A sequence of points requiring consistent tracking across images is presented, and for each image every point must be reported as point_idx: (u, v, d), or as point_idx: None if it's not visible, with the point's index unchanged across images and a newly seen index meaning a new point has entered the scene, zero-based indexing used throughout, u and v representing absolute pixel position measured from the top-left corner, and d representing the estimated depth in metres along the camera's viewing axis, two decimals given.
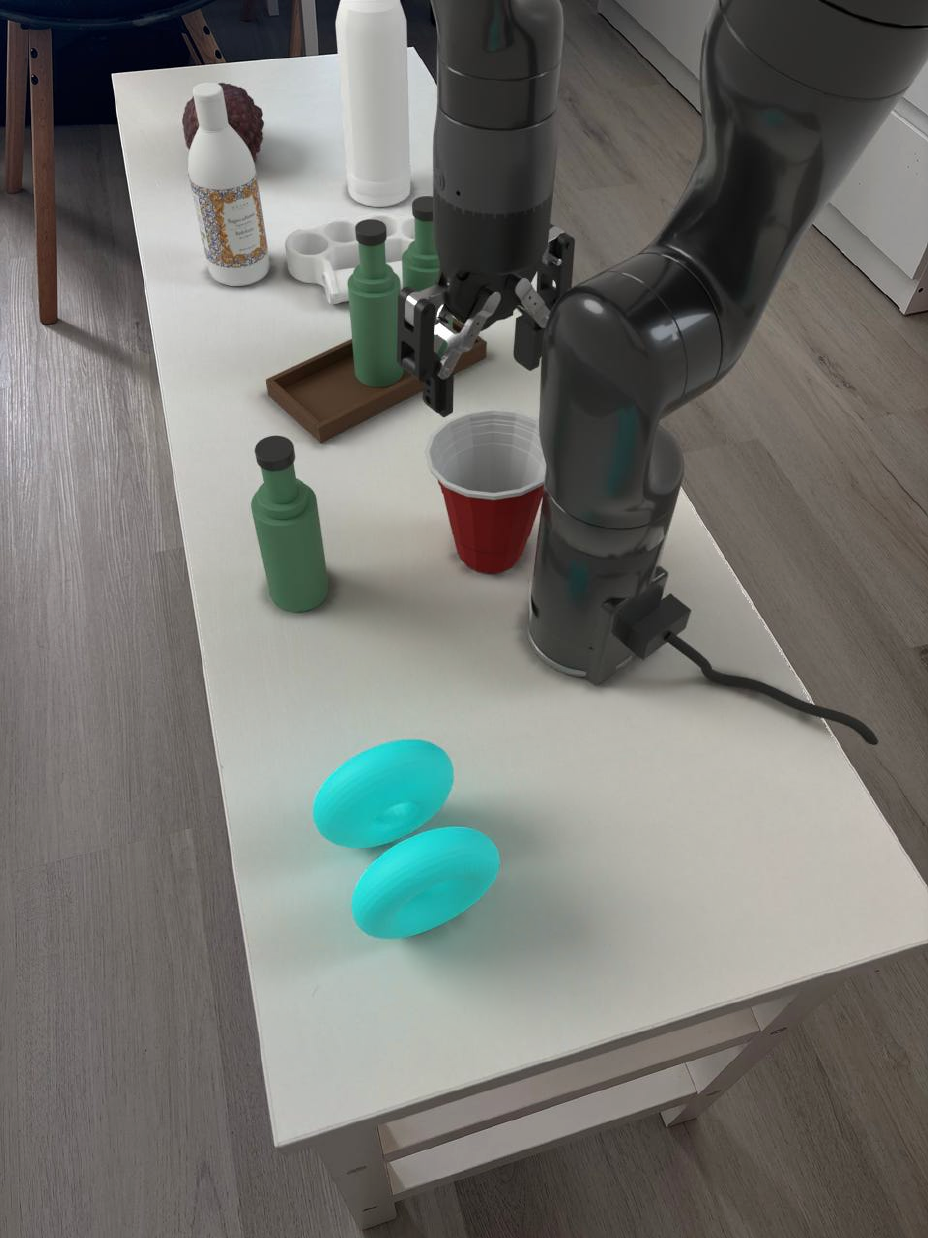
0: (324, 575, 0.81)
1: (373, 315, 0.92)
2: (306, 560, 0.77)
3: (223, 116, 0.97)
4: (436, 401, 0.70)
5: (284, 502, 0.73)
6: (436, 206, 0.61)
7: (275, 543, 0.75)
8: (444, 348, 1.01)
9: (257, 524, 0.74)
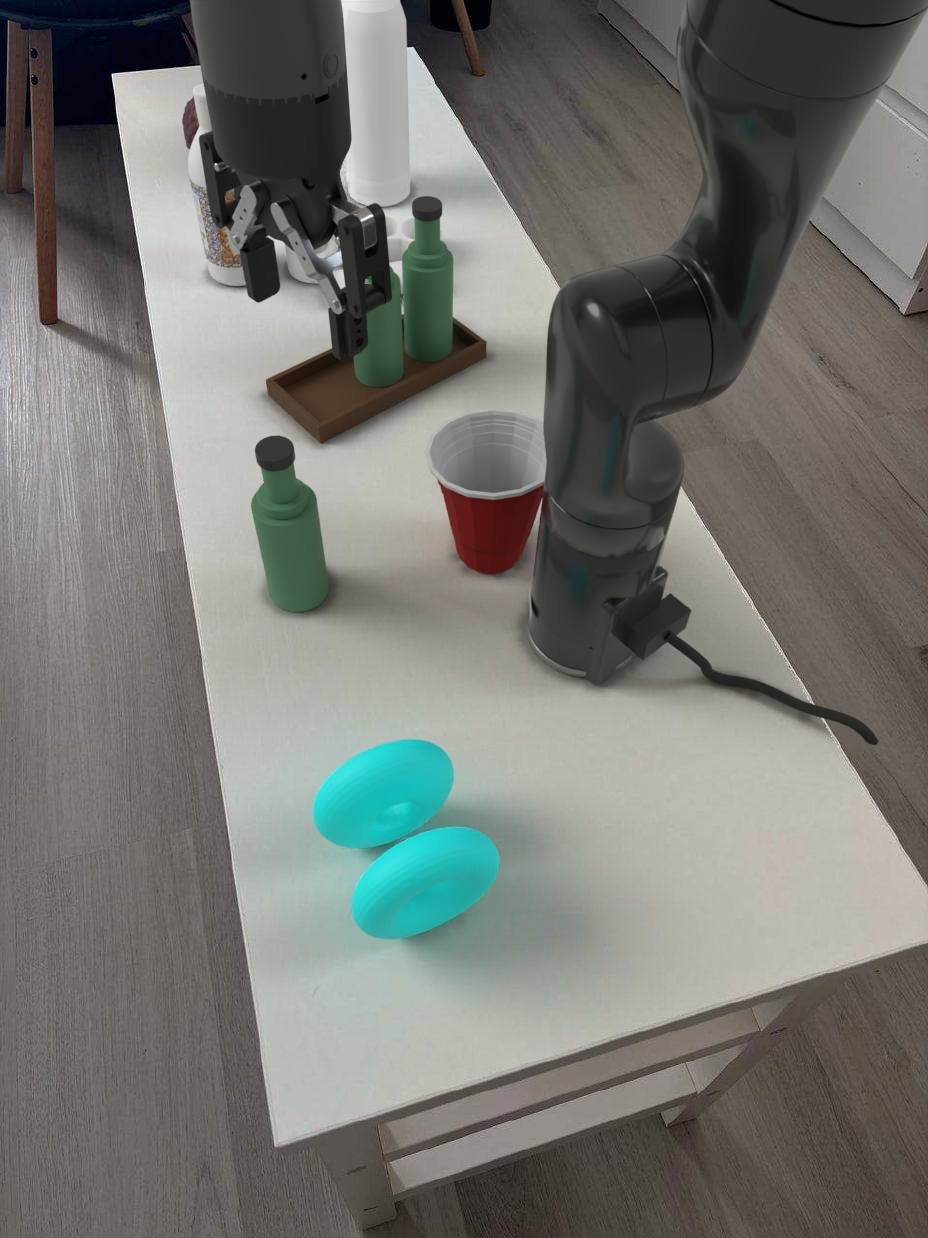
0: (324, 575, 0.81)
1: (373, 315, 0.92)
2: (306, 560, 0.77)
3: None
4: None
5: (284, 502, 0.73)
6: None
7: (275, 543, 0.75)
8: (444, 348, 1.01)
9: (257, 524, 0.74)
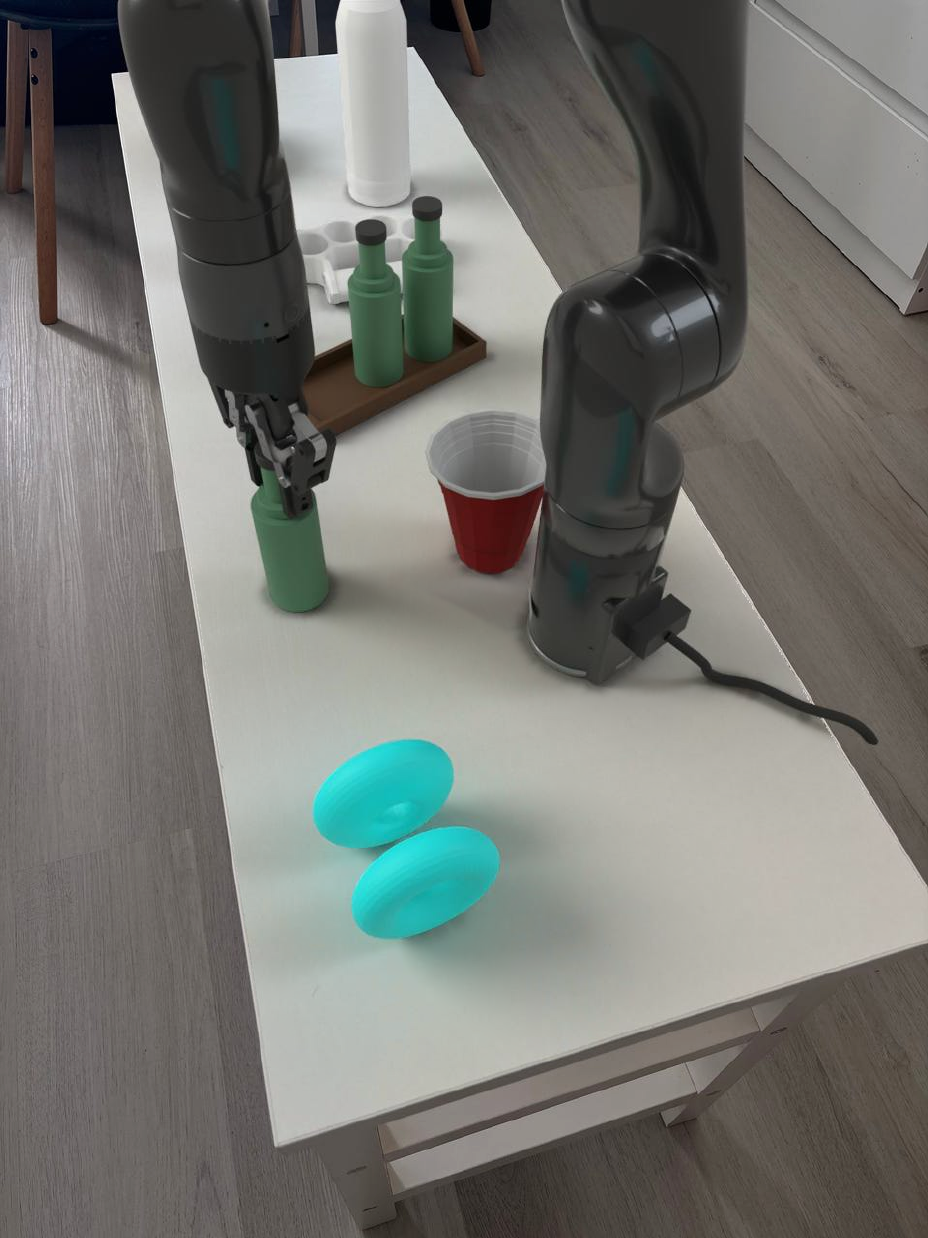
0: (324, 575, 0.81)
1: (373, 315, 0.92)
2: (306, 560, 0.77)
3: None
4: None
5: None
6: None
7: (275, 542, 0.75)
8: (444, 348, 1.01)
9: (257, 524, 0.74)
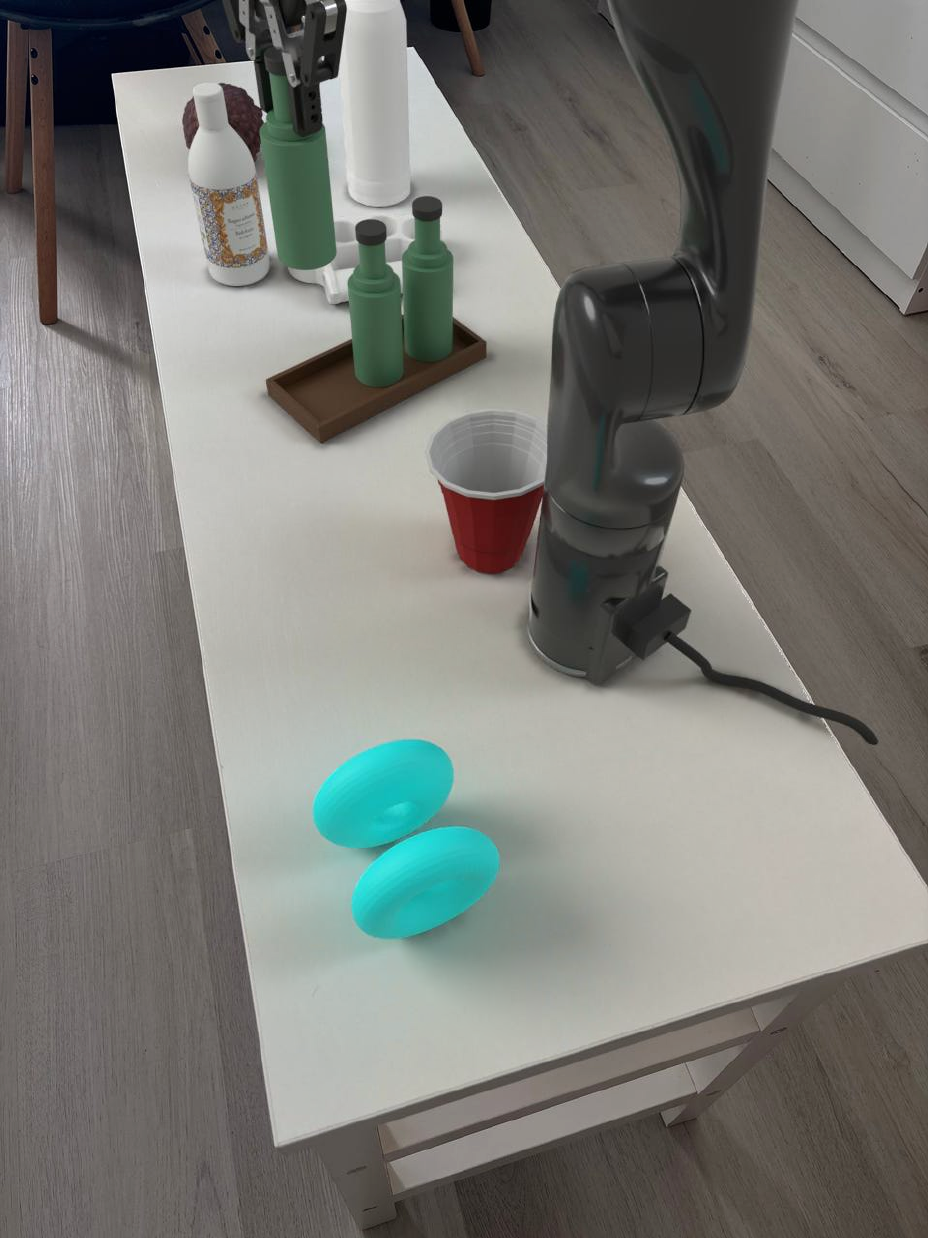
0: (332, 229, 0.81)
1: (373, 315, 0.92)
2: (315, 198, 0.77)
3: (223, 116, 0.97)
4: None
5: None
6: None
7: (284, 170, 0.75)
8: (444, 348, 1.01)
9: (266, 150, 0.75)
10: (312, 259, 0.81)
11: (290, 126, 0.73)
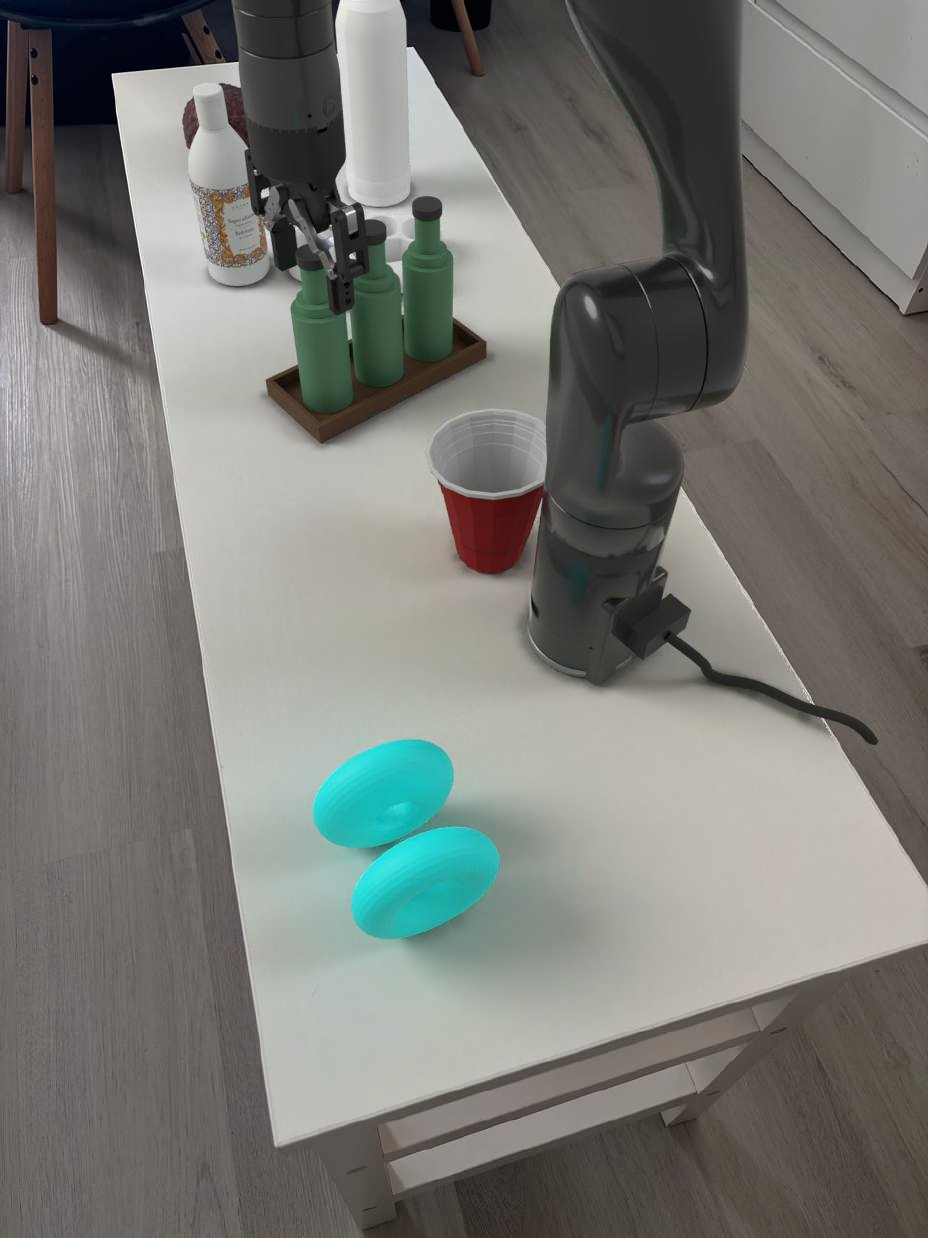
0: (350, 380, 0.95)
1: (373, 315, 0.92)
2: (336, 360, 0.92)
3: (223, 116, 0.97)
4: None
5: (318, 303, 0.88)
6: None
7: (310, 341, 0.90)
8: (444, 348, 1.01)
9: (295, 324, 0.89)
10: (332, 405, 0.96)
11: (316, 307, 0.88)
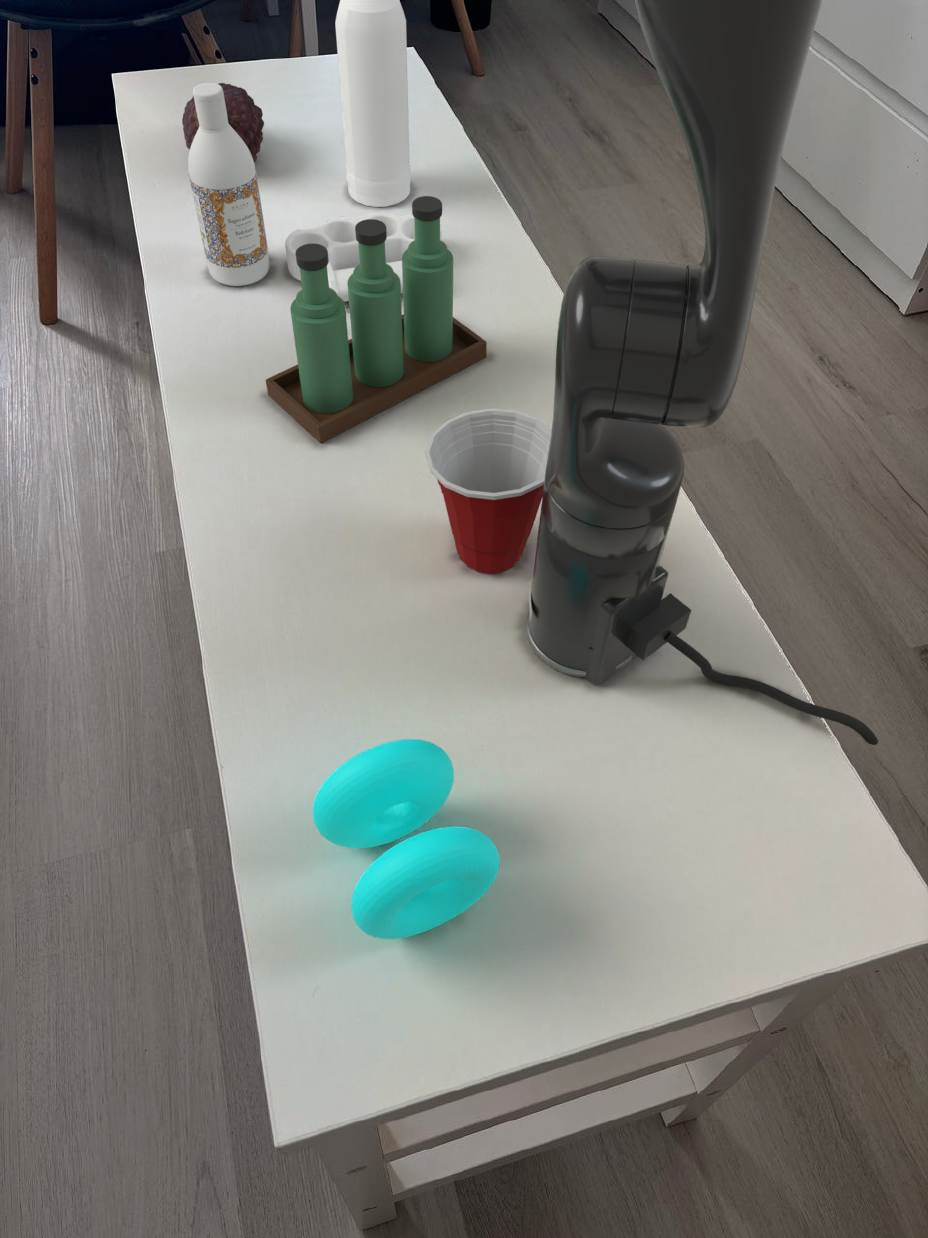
0: (350, 380, 0.95)
1: (373, 315, 0.92)
2: (336, 360, 0.92)
3: (223, 116, 0.97)
4: None
5: (318, 303, 0.88)
6: None
7: (310, 341, 0.90)
8: (444, 348, 1.01)
9: (295, 324, 0.89)
10: (332, 405, 0.96)
11: (316, 307, 0.88)
